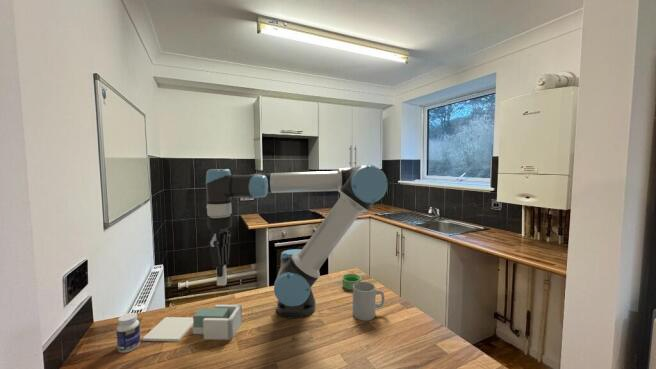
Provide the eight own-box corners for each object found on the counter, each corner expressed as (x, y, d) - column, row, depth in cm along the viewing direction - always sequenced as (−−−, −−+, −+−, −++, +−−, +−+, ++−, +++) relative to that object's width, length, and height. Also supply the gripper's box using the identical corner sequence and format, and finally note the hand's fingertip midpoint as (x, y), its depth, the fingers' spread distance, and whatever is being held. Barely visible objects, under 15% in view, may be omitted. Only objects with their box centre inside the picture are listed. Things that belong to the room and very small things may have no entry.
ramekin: (340, 290, 121) (340, 280, 121) (342, 281, 130) (342, 272, 130) (360, 291, 120) (360, 282, 119) (361, 283, 128) (361, 274, 128)
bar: (229, 319, 94) (228, 308, 94) (223, 327, 89) (222, 316, 89) (201, 318, 94) (200, 307, 94) (193, 327, 90) (193, 315, 89)
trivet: (198, 319, 98) (197, 317, 98) (179, 341, 86) (178, 338, 86) (165, 319, 99) (165, 317, 98) (142, 340, 87) (142, 338, 87)
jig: (241, 322, 97) (241, 304, 96) (231, 339, 87) (231, 320, 87) (203, 321, 97) (202, 304, 96) (188, 338, 87) (187, 319, 87)
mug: (354, 321, 97) (354, 292, 96) (351, 308, 106) (351, 281, 105) (387, 320, 98) (387, 291, 97) (381, 307, 106) (381, 280, 105)
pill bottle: (128, 354, 80) (126, 323, 80) (112, 352, 81) (110, 320, 81) (145, 342, 86) (143, 312, 85) (130, 340, 87) (128, 310, 86)
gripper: (217, 212, 95) (219, 276, 97) (198, 219, 82) (201, 293, 84) (237, 212, 95) (239, 276, 97) (222, 219, 82) (224, 293, 84)
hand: (221, 284), depth 91 cm, fingers closed
